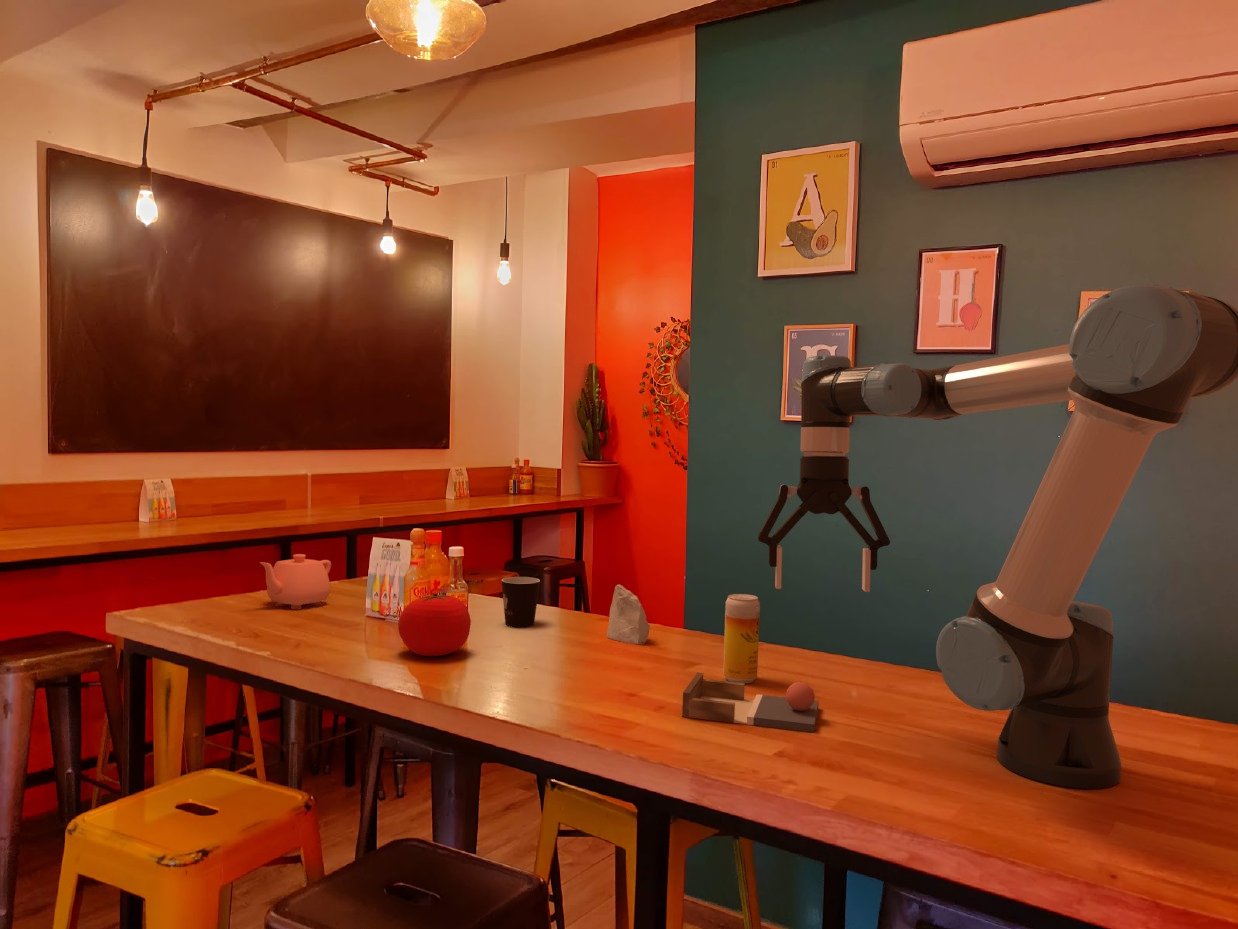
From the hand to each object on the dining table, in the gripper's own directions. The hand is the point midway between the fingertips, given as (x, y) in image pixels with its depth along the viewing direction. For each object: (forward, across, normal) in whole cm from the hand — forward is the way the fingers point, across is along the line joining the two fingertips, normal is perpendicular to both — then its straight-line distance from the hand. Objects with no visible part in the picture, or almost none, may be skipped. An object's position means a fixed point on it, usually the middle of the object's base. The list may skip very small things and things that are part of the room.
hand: (821, 589), depth 138 cm
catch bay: (+20, +17, 0) cm, 26 cm away
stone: (+19, +35, -43) cm, 58 cm away
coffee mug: (+18, +60, -52) cm, 82 cm away
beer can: (+20, +12, -18) cm, 29 cm away
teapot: (+17, +117, -58) cm, 132 cm away
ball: (+17, +3, +2) cm, 17 cm away
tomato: (+19, +70, -23) cm, 76 cm away
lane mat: (+20, +11, +1) cm, 23 cm away
